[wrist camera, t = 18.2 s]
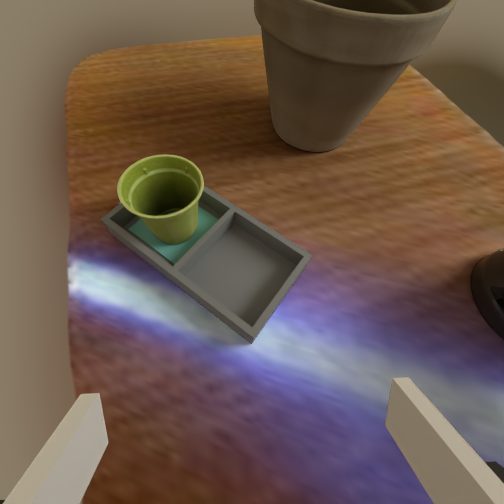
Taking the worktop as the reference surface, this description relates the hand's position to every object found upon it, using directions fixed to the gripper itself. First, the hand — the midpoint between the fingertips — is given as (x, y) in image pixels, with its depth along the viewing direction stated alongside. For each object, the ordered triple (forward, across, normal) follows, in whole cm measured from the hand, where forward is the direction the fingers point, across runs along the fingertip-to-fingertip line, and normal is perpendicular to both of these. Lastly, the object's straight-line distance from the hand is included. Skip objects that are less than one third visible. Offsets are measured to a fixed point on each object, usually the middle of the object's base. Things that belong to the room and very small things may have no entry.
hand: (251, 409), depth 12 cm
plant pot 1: (+28, -9, +4) cm, 30 cm away
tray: (+27, -4, 0) cm, 27 cm away
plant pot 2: (+45, +14, +20) cm, 52 cm away
